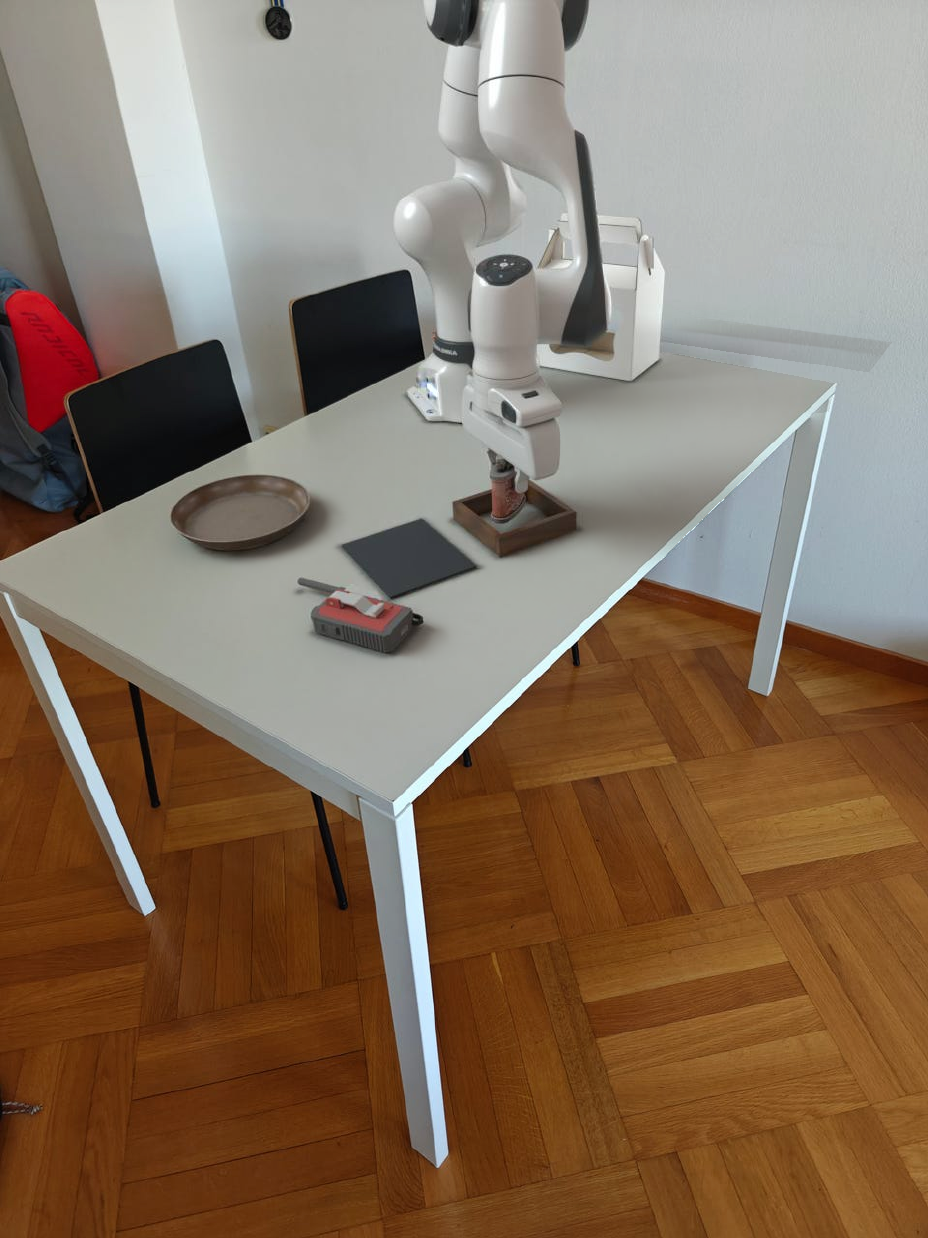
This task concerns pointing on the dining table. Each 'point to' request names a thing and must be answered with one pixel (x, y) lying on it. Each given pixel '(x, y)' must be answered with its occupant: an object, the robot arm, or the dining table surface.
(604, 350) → the gable box
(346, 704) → the dining table surface
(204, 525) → the plant saucer
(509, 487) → the lighter
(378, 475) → the dining table surface
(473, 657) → the dining table surface
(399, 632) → the walkie-talkie
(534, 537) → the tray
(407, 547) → the mat
